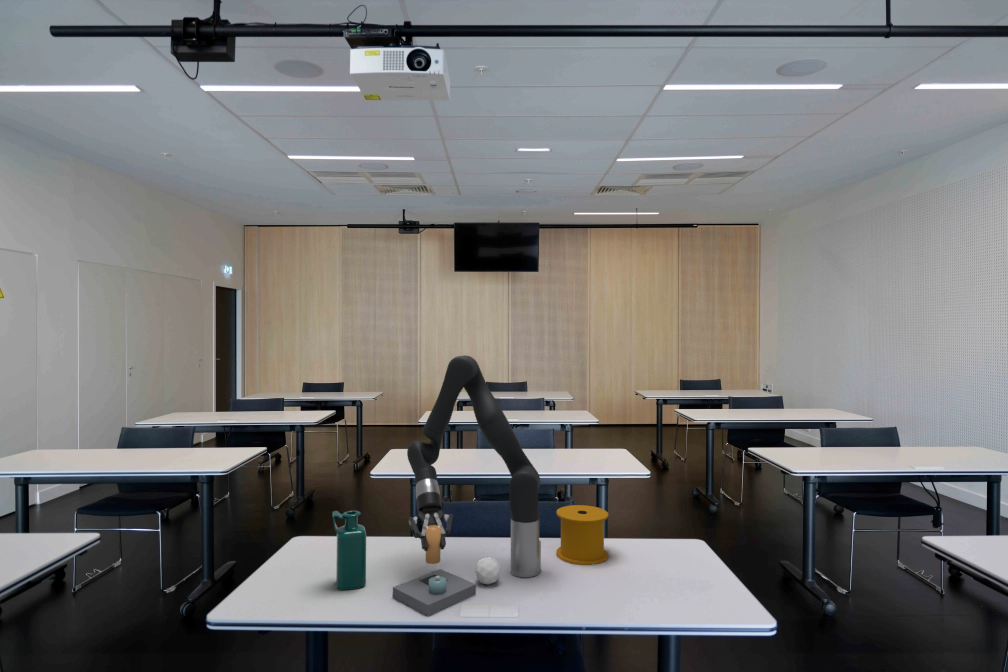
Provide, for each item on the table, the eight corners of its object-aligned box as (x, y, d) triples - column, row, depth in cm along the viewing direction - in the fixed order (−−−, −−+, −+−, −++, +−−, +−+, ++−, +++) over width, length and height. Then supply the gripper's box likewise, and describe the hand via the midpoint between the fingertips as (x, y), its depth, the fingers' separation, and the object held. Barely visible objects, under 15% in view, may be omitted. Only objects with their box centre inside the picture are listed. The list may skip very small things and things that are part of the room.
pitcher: (364, 576, 174) (364, 506, 175) (366, 588, 166) (366, 514, 166) (331, 580, 171) (332, 509, 171) (332, 592, 163) (333, 517, 163)
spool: (612, 565, 184) (612, 520, 184) (558, 564, 185) (558, 519, 185) (603, 545, 202) (603, 504, 202) (554, 545, 203) (554, 504, 203)
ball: (491, 594, 169) (494, 580, 164) (469, 581, 171) (471, 567, 166) (503, 574, 174) (506, 559, 170) (481, 562, 177) (483, 547, 172)
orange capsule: (433, 556, 168) (434, 524, 168) (443, 561, 165) (443, 527, 165) (422, 561, 165) (423, 527, 165) (432, 565, 162) (432, 531, 162)
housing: (440, 578, 173) (440, 556, 173) (475, 594, 162) (476, 570, 162) (392, 597, 160) (392, 573, 160) (428, 616, 149) (428, 590, 149)
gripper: (406, 492, 170) (411, 545, 158) (452, 489, 174) (460, 541, 163) (404, 504, 175) (408, 557, 163) (448, 501, 179) (456, 552, 168)
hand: (434, 548), depth 163 cm, fingers closed on orange capsule, 4 cm apart
